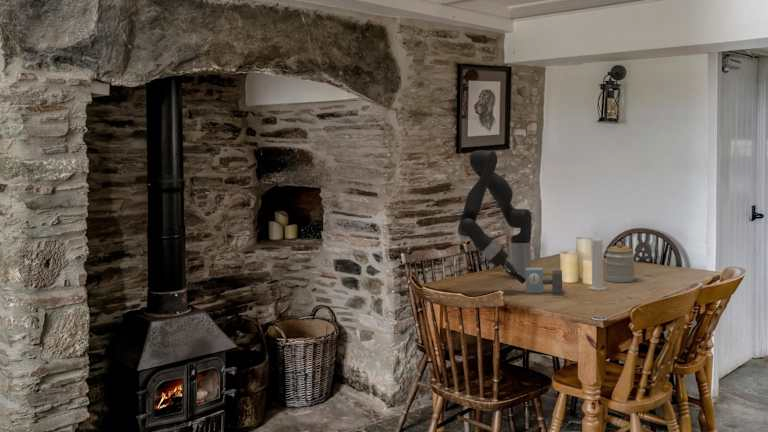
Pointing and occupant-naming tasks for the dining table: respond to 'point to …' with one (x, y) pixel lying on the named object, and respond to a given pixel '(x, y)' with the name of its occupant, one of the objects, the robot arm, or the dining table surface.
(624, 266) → the jar
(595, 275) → the candle
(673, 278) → the dining table surface
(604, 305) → the dining table surface
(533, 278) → the grey box with emblem
